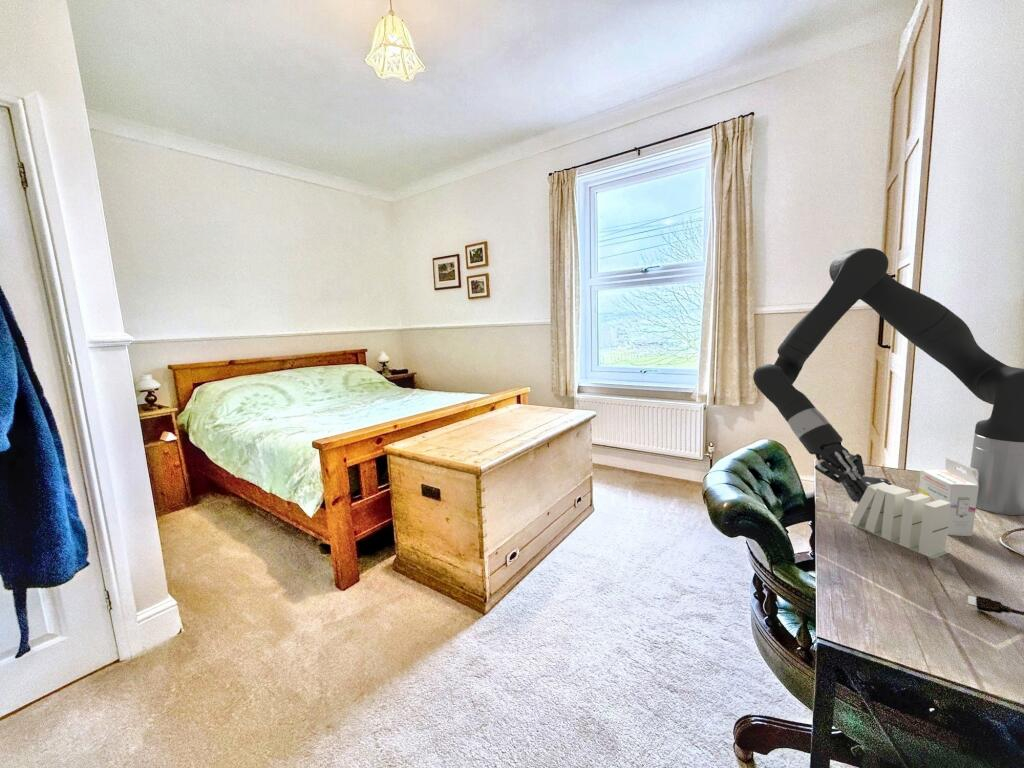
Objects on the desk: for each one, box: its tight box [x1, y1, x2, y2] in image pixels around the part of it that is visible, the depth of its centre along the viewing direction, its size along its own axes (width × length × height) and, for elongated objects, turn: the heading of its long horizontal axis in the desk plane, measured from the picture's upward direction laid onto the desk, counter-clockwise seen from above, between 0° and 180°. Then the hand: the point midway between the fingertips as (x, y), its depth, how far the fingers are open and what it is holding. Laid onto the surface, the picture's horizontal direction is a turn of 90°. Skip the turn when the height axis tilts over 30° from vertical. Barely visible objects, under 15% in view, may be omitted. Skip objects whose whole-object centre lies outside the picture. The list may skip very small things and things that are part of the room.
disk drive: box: [841, 475, 892, 502], centre depth 105 cm, size 10×3×15 cm
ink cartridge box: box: [917, 457, 979, 537], centre depth 87 cm, size 9×5×15 cm, turn 168°
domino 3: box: [881, 487, 912, 541], centre depth 84 cm, size 5×2×10 cm, turn 108°
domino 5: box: [917, 500, 951, 557], centre depth 78 cm, size 5×2×10 cm, turn 108°
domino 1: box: [849, 482, 888, 527], centre depth 88 cm, size 5×2×10 cm, turn 108°
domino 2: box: [865, 483, 901, 534], centre depth 86 cm, size 5×2×10 cm, turn 108°
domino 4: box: [898, 493, 930, 549], centre depth 81 cm, size 5×2×10 cm, turn 108°
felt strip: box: [846, 521, 950, 559], centre depth 84 cm, size 5×15×1 cm, turn 18°
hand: (866, 497), depth 89 cm, fingers closed
